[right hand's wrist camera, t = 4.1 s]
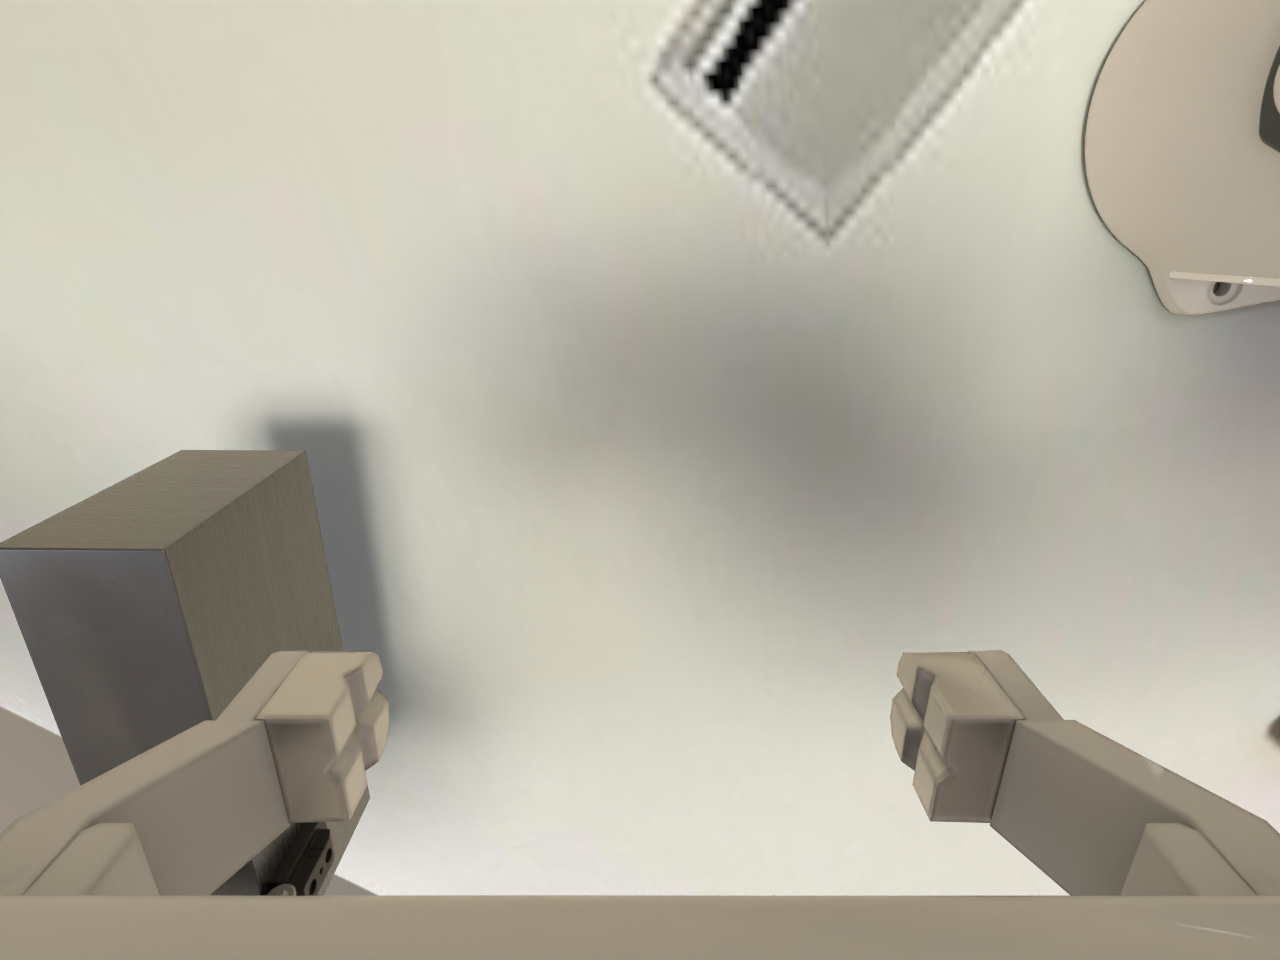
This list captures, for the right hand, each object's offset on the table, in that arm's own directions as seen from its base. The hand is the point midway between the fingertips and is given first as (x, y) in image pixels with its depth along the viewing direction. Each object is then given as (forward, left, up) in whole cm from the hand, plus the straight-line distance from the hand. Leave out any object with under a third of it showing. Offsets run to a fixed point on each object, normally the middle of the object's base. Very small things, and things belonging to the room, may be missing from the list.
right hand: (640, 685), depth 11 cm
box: (+19, +14, -22) cm, 32 cm away
